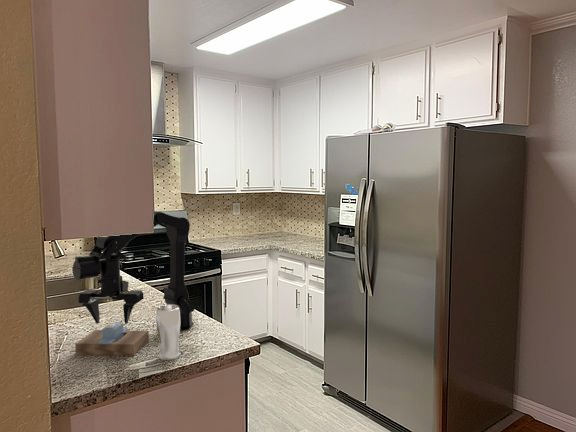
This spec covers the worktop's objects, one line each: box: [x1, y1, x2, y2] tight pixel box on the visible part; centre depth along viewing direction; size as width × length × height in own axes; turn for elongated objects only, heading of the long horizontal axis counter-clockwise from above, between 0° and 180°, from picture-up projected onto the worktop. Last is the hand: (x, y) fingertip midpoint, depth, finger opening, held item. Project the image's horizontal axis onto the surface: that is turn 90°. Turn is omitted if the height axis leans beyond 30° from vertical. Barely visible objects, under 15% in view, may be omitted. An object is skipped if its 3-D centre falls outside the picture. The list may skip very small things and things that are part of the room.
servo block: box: [98, 322, 129, 344], centre depth 137 cm, size 4×12×8 cm, turn 177°
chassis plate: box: [74, 329, 150, 357], centre depth 137 cm, size 18×12×4 cm, turn 87°
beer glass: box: [155, 304, 181, 361], centre depth 130 cm, size 7×7×15 cm
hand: (112, 323), depth 137 cm, fingers open, 9 cm apart
